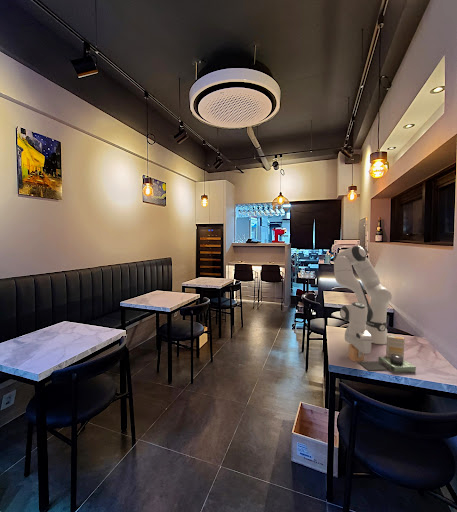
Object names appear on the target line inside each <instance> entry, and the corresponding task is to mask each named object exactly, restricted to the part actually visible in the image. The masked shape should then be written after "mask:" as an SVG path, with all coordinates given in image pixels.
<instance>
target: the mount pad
mask: <svg viewBox="0 0 457 512" xmlns="http://www.w3.org/2000/svg"><path fill="white" fill-rule="evenodd" d="M357 364H359V365H360V366H361V367H363V368H364V369H366V370H367V371H368V372H377V371H379V372H382V371H383V372H385V371H389V369H388V368H386V367H385V366H384V365H382V364H381V363H379V362H378V361H377V360H375V361H373V360H371V361H357Z"/></svg>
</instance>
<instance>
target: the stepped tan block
mask: <svg viewBox="0 0 457 512" xmlns="http://www.w3.org/2000/svg"><path fill="white" fill-rule="evenodd" d="M348 344H349V343H348ZM348 347H349V348H348V358H349V359H350V360H351V361H353V362H364V355H365V354H364V353H363V354H362V357H360V358H359V357H358V356H357V353H359V351H358V349H357V348H355V347H354V346H353V345H352V344H349V346H348Z"/></svg>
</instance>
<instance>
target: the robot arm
mask: <svg viewBox="0 0 457 512" xmlns="http://www.w3.org/2000/svg"><path fill="white" fill-rule="evenodd" d="M353 269H354V270H355V272H356V274H357V276H358V278H359V280H360V281H361V282H360V281H359V280H358V279H357V277H356V276H355V274H354V270H353ZM333 273H334V278H335V281H336V283H338V285H340V286H341V287H344V288H346V289H348V290H351V291H352V292H353V293H354V295H355V297H356V299H357V301H356V302H351V304H346V305H342V307H341V308H340V310H339V315H340V318H341V319H342V320H343V321H345V322H349V325H348V326H346V329H345V331H344V332H345V333H344V337H343V338H344V341H345V342H347V344H352V345H353V346H354V347H355V348H357V349H358V351H359V353H357V356H358V357H359V358H360V357H362V354H363V353H364V354H363V355H369V354H371V353H372V344H376V345H386V343H387V335H388V329H387V325H388V322H387V316H388V315H387V313H388V308H389V304H390V302H391V300H392V298H393V297H392V293H391V291H390V290H389V288H387V287H385V286H383V285H382V283H381V281H380V278H379V275H378V273H377V271H376V269H375V267H374V266H373V264H372V262H371V261H370V259H369V258H368V257H367V252H366V249H365V248H364V247H362V246H361V245H355V246H353V247H349V248H346V249H344V250H342V251H340V252H338V253H336V254H335V255H334V256H333ZM365 292H366V293H365ZM366 294H367V295H368V297H370V303H369V301H368V298H367V295H366Z"/></svg>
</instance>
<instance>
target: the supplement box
mask: <svg viewBox="0 0 457 512" xmlns="http://www.w3.org/2000/svg"><path fill="white" fill-rule="evenodd" d="M405 341H406V340H405V337H403V336H402V335H395V334H393V335H392V334H387V343H386V344H385V357H390V354H398V355H401V356H402V357H403V359H404V360H405V358H404V357H405Z"/></svg>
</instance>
